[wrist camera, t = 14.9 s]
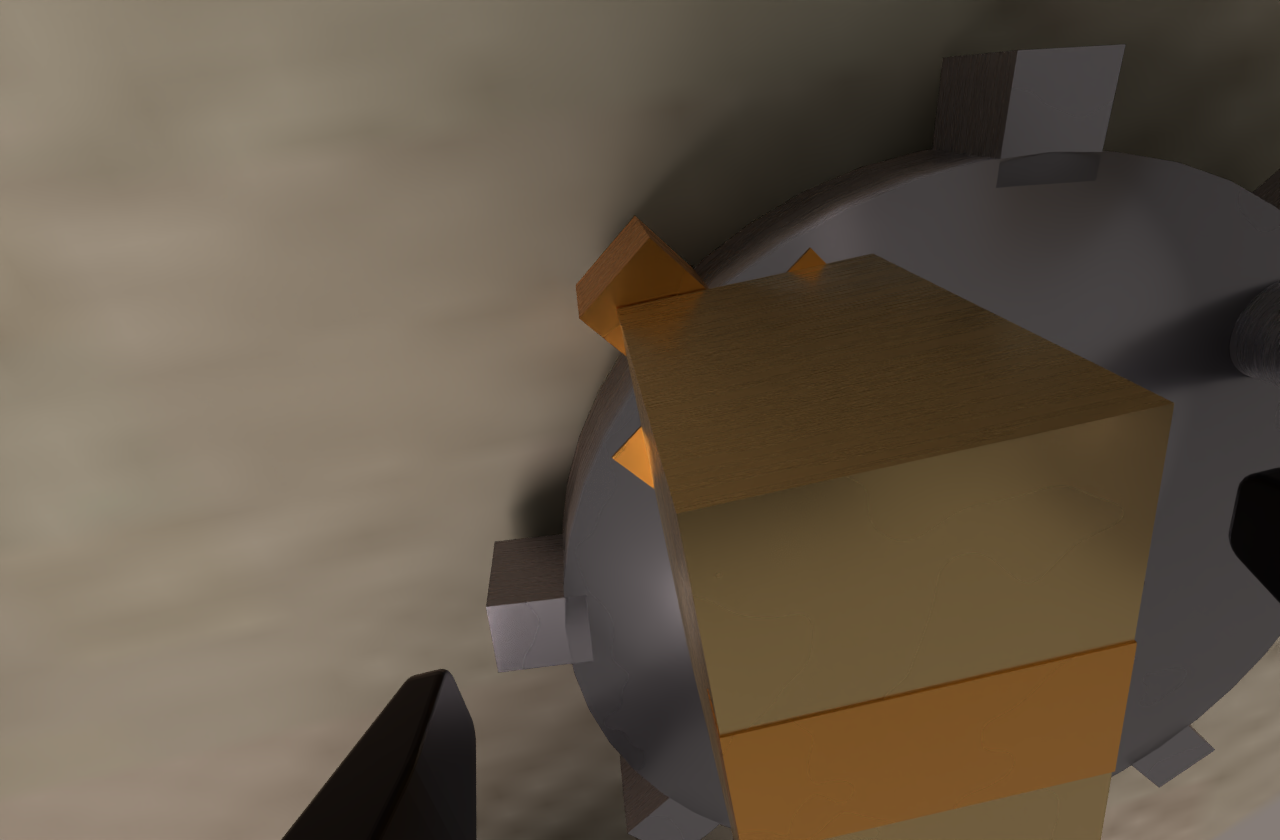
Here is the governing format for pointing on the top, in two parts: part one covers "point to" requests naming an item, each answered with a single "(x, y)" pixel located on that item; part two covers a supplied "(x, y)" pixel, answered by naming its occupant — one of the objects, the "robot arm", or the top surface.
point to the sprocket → (1007, 286)
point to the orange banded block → (897, 552)
